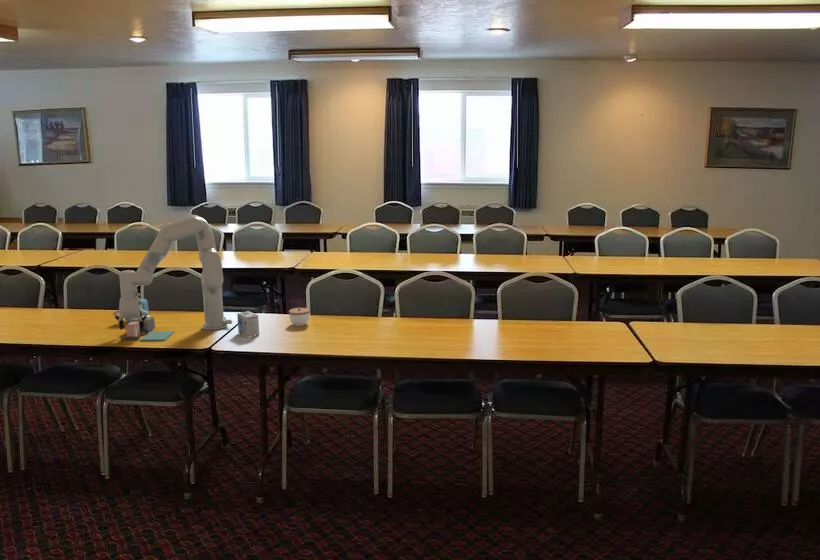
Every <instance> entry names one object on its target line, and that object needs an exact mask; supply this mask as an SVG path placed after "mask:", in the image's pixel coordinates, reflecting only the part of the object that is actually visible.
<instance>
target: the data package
mask: <svg viewBox="0 0 820 560" xmlns="http://www.w3.org/2000/svg"><path fill="white" fill-rule="evenodd" d="M140 301H141V305H142V309H143V310H145V311H147V312H148V313H149V314H148V316H150V310H149V301H148V300H147V298H140ZM144 315H145V314H143V315H142V316H144ZM124 320H125V321H126V322H127V321H130V318H124Z"/></svg>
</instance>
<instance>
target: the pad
mask: <svg viewBox="0 0 820 560" xmlns="http://www.w3.org/2000/svg"><path fill="white" fill-rule="evenodd" d="M174 332H175V330H160V331H159V330H158V331H156V330H152V331H151V332H150V333H148V334H146V335H144V336H143V337H142V338H140V340H139V341H140V342H163V341H164V342H165V341H167V340H168V339H169V338H170V337H172V336H173V335H174V334H175V333H174ZM173 333H174V334H173Z"/></svg>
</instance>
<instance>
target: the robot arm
mask: <svg viewBox="0 0 820 560" xmlns="http://www.w3.org/2000/svg"><path fill="white" fill-rule="evenodd" d="M191 236H195V237H196V241H197V248H198V249H197V250H198V257H199V259H198V260H199V261H200V263H201V268H202V272H201V275H200V282H201V290H202V297H203V298H202V300H203V314H204V324H202V325H201V327H202V329H203V330H206V331H216V330H217V331H218V330H223V329H225V328H227V327H228V325H232V324H233V320H232V319H226V317H225V316H224V305H223V304H224V303H223V302H224V301H223V290H222V285H223V284H224V273H223V266H222V265H223V264H222V258H221V255H220V254H219V252H218V251H217V247H216V242H215V241H216V240H215V235H214V231H213V229H212V226H211V225H210V224H209V222H208V221H207V220H205V219H204V218H203V217H201V216H199V215H197V214H189V215H187V216H185V218H184V220H180V221H177V222H169V221H168V222H165V223H164V224H163V225H162V226H161V228H159V231H158V233H157V235H156V236H155V238H154V241H152V242H153V243H152V244H151V245H150V247H149V249H147V252H146V254H145V255H144V257H143V259H142V261H141V262H140V264H139V265H138V268H137V270H136V271H135V270H131V269H126V270H122V271H120V272H119V275H118V278H119V286H120V287H119V288H120V290H119V291H120V298H119V304H118V309H117V310H115V311H113V312H112V315H113V316H114V318H115V320H117V322H118V327H119V329H120V331H121V330H123V329H125V321H124V319H125V318H138V319H139V320H140V322H139V326H140V330H142V329H143V328H144V320H145V319H146V318H147V316H148V314H149V315H150V312H149V313H148V312H147V311H145V310H143V309H142V305H141V301H140V299H141V298H140V296H141V293H140V292H138V286H149V285H150V284H151V283H152V282H153V280H154V276H153V274H154V272H155V270H156V269H157V267H158V266H159V264H160V263H161V262H162V261H163V260H164V259H165V258H166V257H167V255H168V254H169V252H170V251H171V249H172V246H173V245H174V244H175V242H176V241H180V240H183V239H186V238H188V237H189V238H190V237H191ZM118 314H119V315H118ZM143 314H145V315H144V317H142V315H143Z"/></svg>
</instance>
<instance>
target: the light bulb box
mask: <svg viewBox="0 0 820 560" xmlns="http://www.w3.org/2000/svg"><path fill="white" fill-rule="evenodd" d="M236 317H237V329H238V330H237V331H238V334H239V333H240V334H239V335H241V334H242V335H241V336H243V335H244V336H243V337H245V336H246V337H245V338H247V337H250V336H255V335H259V336H260V326H259V325H260V323H259V322H260V321H259V314H256V313H254V312H251V311H250V310H247V311H243V312H237V314H236ZM255 337H256V336H255ZM250 338H251V337H250Z"/></svg>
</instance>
